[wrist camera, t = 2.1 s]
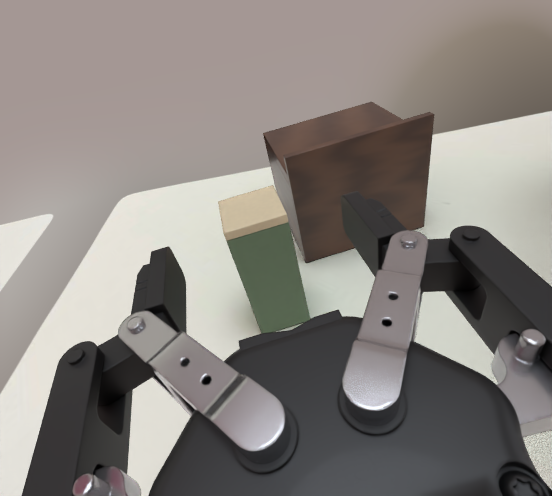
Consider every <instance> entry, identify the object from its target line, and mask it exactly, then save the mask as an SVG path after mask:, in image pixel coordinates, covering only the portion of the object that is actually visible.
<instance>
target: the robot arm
mask: <svg viewBox="0 0 552 496" xmlns="http://www.w3.org/2000/svg"><path fill="white" fill-rule="evenodd" d="M341 209H342V220H343V227H344V230H345V233H346V235H347V236H348V238H349V239H350V241H351V242H352V244H353V245H354V247H355V248H356V250H357V251H358V253H359V254H360V255H361V257H362V258H363V260H364V261H365V263H366V264H367V266H368V267H369V269H370V270H371V272H372V273H373V274H374V276H375V281H374V284H373V287H372V290H371V294H370V297H369V300H368V303H367V307H366V310H365V313H364V316H363V318H359V317H347V316H346V317H342V316H341V314H340V312H339V310H335V311H332V312H329V313H326V314H323V315H319V316H316V317H314V318H312V319H310V320H308V321H307V322H305V323H303V324H301V325H300V326H298V327H296V328H294V329H293V330H290V331H281V332H270V333H262V334H259V335H256V336H253V337H249V338H246V339H243V340H240V341H239V347H240V349H239V350H237V351H236V352H234V353H233V354H232V355H230V356H229V357H228V358H227V359H226V360H225V361H224V362H223V361H222V360H221V359H219V358H218V357H217V356H215V355H214V354H213V353H211V352H210V351H209V350H207V349H206V348H205V347H203V346H202V345H201V344H199V343H198V342H197V341H195V340H194V339H193V338H191V337H190V336H189V335H187V334H186V281H185V277H184V274H183V272H182V270H181V268H180V266H179V264H178V262H177V260H176V258H175V256H174V254H173V252H172V250H171V249H170V248H169V247H165V248H162V249H158V250H155V251H152V252H151V258H150V264H147V265H144V266H143V267H142V268H141V270H140V272H139V273H138V275H137V281H136V284H137V285H136V287H135V293H134V299H133V305H132V311H131V315H130V316H129V317H127V318H126V319H125V320H124V321H123V322H122V324H121V325H120V327H119V330H118V335H116V336H115V337H113V338H112V339H110V340H108V341H106V342H105V343H103V344H101V345H99V346H98V347H97V346H96V344H95V343H93V342H90V341H86V342H81V343H79V344H77V345H75V346H73V347H72V348H70V349H69V350H68V351H67V352H66V353H65V354H64V355H63V356H62V358H61V359H60V361H59V363H58V366H57V370H56V373H55V377H54V380H53V384H52V388H51V391H50V395H49V399H48V402H47V406H46V410H45V413H44V417H43V420H42V424H41V428H40V431H39V435H38V439H37V442H36V446H35V450H34V453H33V457H32V460H31V464H30V468H29V471H28V475H27V479H26V482H25V486H24V489H23V493H22V496H141V489H140V486H139V484H138V483H137V482H136V481H135V480H134V479H132V478H131V477H130V476H128V475H127V468H128V452H129V437H130V421H131V405H132V390H133V389H134V388H136V387H137V386H139V385H141V384H142V383H144V382H145V381H147V380H149V379H150V378H153V379H154V380H155V381H156V382H157V383H158V384H160V385H161V386H162V387H163V388H164V389H165V390H166V391H167V392H168V393H169V394H170V395H171V396H172V397H173V398H174V399H175V400H176V401H177V402H178V403H179V404H180V405H181V406H182V407H183V409H184V410H185V411H186V412H187V413H188V414H189V415H190V416H191V417H190V419H189V421H188V423H187V424H186V426H185V428H184V430H183V431H182V433H181V435H180V437H179V439H178V440H177V442H176V444H175V446H174V447H173V449H172V451H171V453H170V454H169V456H168V458H167V460H166V461H165V463H164V465H163V467H162V468H161V470H160V472H159V474H158V476H157V477H156V479H155V481H154V483H153V485H152V488H151V490H150V493H149V496H552V490H551V489H550V488H549V487H548V486H547V484H546V483H545V482H544V481H543V479H542V478H541V477H540V475H539V474H538V472H537V470H536V469H535V467H534V465H533V463H532V461H531V459H530V457H529V454H528V452H527V449H526V447H525V444H524V440H523V437H527V436H531V435H534V434H538V433H542V432H546V431H550V430H552V287H551V286H550V285H549V284H548V283H547V282H546V281H544V280H543V279H542V278H541V277H540V276H539V275H538V274H536V273H535V272H534V271H533V270H532V269H531V268H529V267H528V266H527V265H526V264H525V263H524V262H522V261H521V260H520V259H519V258H518V257H517V256H516V255H514V254H513V253H512V252H511V251H510V250H509V249H507V248H506V247H505V246H504V245H503V244H502V243H501V242H499V241H498V240H497V239H496V238H495V237H494V236H492V235H491V234H490V233H489V232H488V231H486V230H485V229H482V228H480V227H476V226H461V227H458V228H455V229H454V230H453V231H452V232H451V234H450V238H446V239H427V237H426V236H425V235H423V234H422V233H419V232H417V231H411V230H407V229H406V228H405V227H404V226H403V225H402V224H401V223H400V222H399V221H398V219H397V218H396V217H395V216H394V215H392V213H391V212H390V211H389V210H387V208H386V207H385V206H384V205H383V204H382V203H381V202H379V201H377V200H375V199H373V198H369V199H365V198H364V197H363V196H362V195H361V194H360V193H359V192H358V191H355V192H351V193H348V194H345V195H342V196H341ZM433 291H445V292H446V294H447V295H448V296H449V298H450V299H451V300H452V301H453V303H454V304H455V305H456V307H457V308H458V309H459V310H460V312H461V313H462V314H463V315H464V317H465V318H466V319H467V321H468V322H469V323H470V324H471V326H472V327H473V328H474V330H475V331H476V332H477V333H478V335H479V336H480V337H481V338H482V340H483V341H484V342H485V344H486V345H487V346H488V347H489V349H490V350H491V351H492V353H493V354H494V358H493V361H492V364H491V368H492V372H493V374H494V376H495V378H496V380H497V382H498V385H496V384H495V383H493V382H492V381H491V380H490V379H488V378H487V377H485V376H484V375H482V374H480V373H478V372H476V371H474V370H472V369H470V368H468V367H466V366H464V365H462V364H460V363H458V362H456V361H453V360H451V359H449V358H447V357H445V356H443V355H441V354H439V353H437V352H435V351H433V350H431V349H428V348H426V347H424V346H422V345H420V344H418V343H416V342H415V338H416V331H417V324H418V318H419V312H420V306H421V300H422V294H423V292H433Z"/></svg>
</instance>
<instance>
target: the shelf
mask: <svg viewBox="0 0 552 496" xmlns="http://www.w3.org/2000/svg"><path fill="white" fill-rule="evenodd" d="M433 121H434V114H433V113H430V112H428V113H425V114H421V115H418V116H414V117H411V118H407V119H404V120H403V119H401V118H399V117H397V116H396V115H394V114H392V113H390V112H389V111H387V110H385V109H384V108H382V107H380V106H378V105H376V104H375V103H373V102H369V103H366V104H362V105H359V106H355V107H352V108H348V109H345V110H342V111H338V112H335V113H331V114H328V115H324V116H321V117H317V118H314V119H310V120H307V121H303V122H300V123H297V124H293V125H290V126H287V127H283V128H280V129H276V130H272V131H269V132H266V133H263V135H264V140H265V144H266V148H267V153H268V157H269V161H270V166H271V170H272V174H273V178H274V183H275V187H276V191H277V194H278V197H279V199H280V201H281V203H282V205H283V207H284V209H285V211H286V213H287V217H288V222H289V226H290V229H291V231H292V233H293V236H294V238H295V240H296V242H297V244H298V246H299V249H300V251H301V253H302V255H303V257H304V259H305V262H306V263H307V262H310V261H314V260H317V259H320V258H323V257H327V256H330V255H333V254H336V253H340V252H343V251H346V250H349V249H353V248H355V247H354V245H353V244H352V242H351V241H350V239H349V238H348V236H347V235H346V233H345V230H344V227H343V220H342V209H341V196H342V195H345V194H348V193H351V192H355V191H358V192H359V193H360V194H361V195H362V196H363V197H364V198H365V199H369V198H373V199H375V200H377V201H379V202H381V203H382V204H383V205H384V206H385V207H386V208H387V210H389V211H390V212H391V213H392V215H394V216H395V217H396V218H397V219H398V221H399V222H400V223H401V224H402V225H403V226H404V227H405V228H406V229H407V230H414V229H417V228H420V227H423V226H424V218H425V207H426V197H427V186H428V175H429V165H430V154H431V143H432V132H433Z"/></svg>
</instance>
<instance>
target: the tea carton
mask: <svg viewBox="0 0 552 496" xmlns="http://www.w3.org/2000/svg"><path fill="white" fill-rule="evenodd" d="M218 204H219V210H220V215H221V221H222V227H223V233H224V236H225V238H226V241H227V244H228V246H229V249H230V252H231V254H232V257H233V259H234V262H235V265H236V267H237V270H238V273H239V275H240V278H241V280H242V283H243V286H244V288H245V291H246V293H247V296H248V299H249V301H250V304H251V306H252V309H253V312H254V314H255V317H256V319H257V322H258V325H259V327H260V330H261V333H270V332H274V331H278V330H281V329H284V328H287V327H290V326H293V325H296V324H300V323H303V322H306V321H308V320H310V316H309V312H308V307H307V303H306V298H305V294H304V289H303V284H302V280H301V275H300V271H299V266H298V262H297V257H296V253H295V248H294V244H293V239H292V235H291V230H290V226H289V222H288V217H287V213H286V211H285V209H284V207H283V205H282V203H281V201H280V199H279V197H278V194H277V192H276V190H275V188H274V186H273V185H272V186H269V187H265V188H262V189H258V190H255V191H252V192H248V193H245V194H242V195H238V196H235V197H232V198H228V199H225V200H221V201H219V202H218Z"/></svg>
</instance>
